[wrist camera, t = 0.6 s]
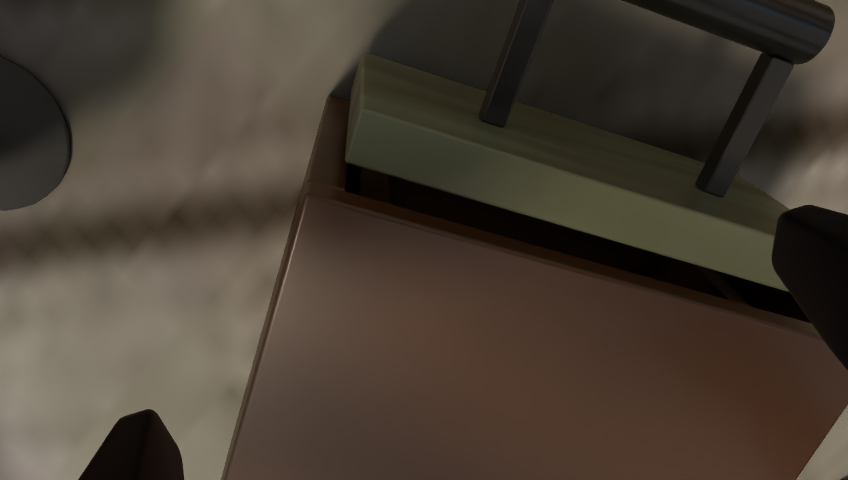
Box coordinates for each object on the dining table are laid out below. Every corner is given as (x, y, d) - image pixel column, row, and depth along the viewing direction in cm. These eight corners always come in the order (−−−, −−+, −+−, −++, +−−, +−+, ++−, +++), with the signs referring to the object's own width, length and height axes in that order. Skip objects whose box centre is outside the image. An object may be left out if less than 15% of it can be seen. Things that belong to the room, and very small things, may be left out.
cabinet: (328, 94, 21) (304, 192, 13) (713, 214, 24) (884, 354, 16) (229, 447, 26) (170, 668, 18) (554, 513, 29) (623, 730, 21)
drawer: (416, -134, 18) (441, -166, 12) (816, 20, 20) (1012, 61, 14) (258, 408, 24) (221, 570, 18) (574, 475, 27) (635, 639, 21)
